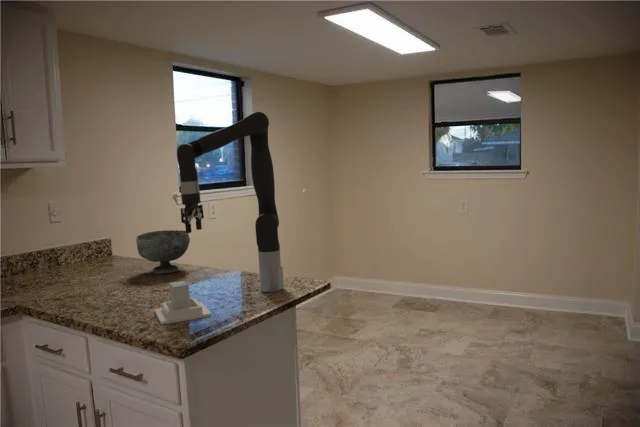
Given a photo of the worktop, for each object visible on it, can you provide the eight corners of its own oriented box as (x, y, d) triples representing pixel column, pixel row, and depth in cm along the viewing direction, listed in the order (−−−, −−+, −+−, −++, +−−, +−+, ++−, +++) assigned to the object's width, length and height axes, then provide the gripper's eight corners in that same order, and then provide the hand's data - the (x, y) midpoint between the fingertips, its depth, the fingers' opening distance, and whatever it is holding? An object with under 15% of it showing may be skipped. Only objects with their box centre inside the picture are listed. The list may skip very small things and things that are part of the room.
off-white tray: (201, 304, 211) (200, 295, 211) (211, 315, 195) (210, 306, 194) (154, 311, 204) (153, 302, 203) (161, 324, 187) (160, 315, 187)
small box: (191, 312, 197) (188, 284, 195) (175, 315, 194) (173, 287, 193) (186, 307, 204) (184, 280, 203) (171, 309, 202) (169, 282, 200)
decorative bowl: (186, 262, 293) (182, 226, 290) (198, 271, 270) (194, 233, 267) (136, 271, 281) (131, 234, 278) (144, 281, 259) (139, 241, 256)
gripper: (189, 193, 211) (193, 233, 213) (206, 190, 224) (210, 228, 226) (173, 194, 213) (177, 234, 215) (190, 191, 227) (194, 228, 228)
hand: (194, 231), depth 221 cm, fingers open, 8 cm apart
